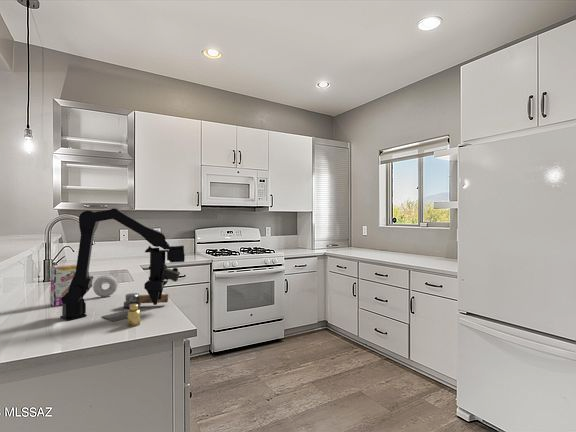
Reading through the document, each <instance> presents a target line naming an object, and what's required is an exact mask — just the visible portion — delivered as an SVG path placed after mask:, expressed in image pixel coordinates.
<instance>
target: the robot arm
mask: <svg viewBox="0 0 576 432" xmlns="http://www.w3.org/2000/svg"><path fill="white" fill-rule="evenodd" d="M108 220H109V221H110V220H114V221H116V222H117V223H120V224H121V225H123V226H124V227H127V228H129V229H130V230H131V231H133V232H135V233H136V234H138V235H141V236H142V238H143V239H145V241H147V242H148V243H149V244H150V245H149V246H148V247H147V248H146V249H145V250H144V252H145V253H149V266H148V270H149V276H148V280H147V281H146V282H144V286H143V287H144V290H145V291H146V292H147V295H149V296H150V298H151V300H152V302H153V303H152V304H153V305H154V306H157V304H158V303H157V302H158V300H159V299H161V296H162V294H163V292H164V291H163V290H164V287H165V285H166V284H167V283H168V282H169V280H171V281H172V282H177V281H178V280H179V278H180V275H181V272H180V271H179V269H178V267H173V268H172V269H171V268H168V266H167V264H166V260H167V261H169V263H171V264H172V263H184V262H185V259H186V257H185V246H184V245H170V244H169V243H168V242H167V241H166V236H165V234H164V233H163V232H161V231H159V230H156V229H154V228H152V227H148V226H146V225H144V224H143V223H141V222H139V221H138V220H136V219H135V218H133V217H131V216H129V215H127V214H125V212H123V211H121V210H120V209H119V208H114V207H113V208H110V209H107V210H99V211H95V210H83V212H81V213H80V214H79V216H78V224H79V225H78V226H79V232H80V238H79V246H78V253H77V260H76V264H77V266H76V272H75V274H74V277H73V279H72V281H71V284H70V287H69V290H68V291H69V292H68V293H67V294H65V295H64V296H63V297H62V298H61V300H62V305H61V307H62V308H61V313H62V315H60V316H59V318H61V319H63V320H65V321H71V320H76V319H80V318H85V317H87V311H86V310H87V307H86V306H87V304H86V303H87V302H85V298H84V296H85V295H86V294H87V293H88V292H89V291H90V289H92V288H93V279H94V275H92V276H91V275H90V271H89V270H90V263H91V257H92V249H93V241H94V235H95V233H96V231H97V228H98V227H99V223H100V222H102V221H108ZM151 245H152V246H153V247H151ZM160 248H162V249H160ZM82 297H83V299H82Z"/></svg>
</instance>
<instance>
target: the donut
mask: <svg viewBox="0 0 576 432" xmlns="http://www.w3.org/2000/svg"><path fill="white" fill-rule="evenodd" d="M105 283H108V285H109V287H108V288H107V289H104V288H103V287H102V285H103V284H105ZM92 289H93V292H94V294H95V295H97V296H98V297H101V298H106V297H109V296H111V295H113V294H115V292H116V291H117V289H118V281H117V279H116V277H114V276H112V275H109V274H104V275H101V276H99V277H98V278H96V280H95V281H94V282H93V284H92Z"/></svg>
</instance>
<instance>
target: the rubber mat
mask: <svg viewBox="0 0 576 432" xmlns="http://www.w3.org/2000/svg"><path fill="white" fill-rule="evenodd" d="M101 318H102V319H105V320H109V321H111V322H117V321H122V320H124V319H127V311H126V310H121V311H117V312H114V313H110V314H105V315H103V316H101Z"/></svg>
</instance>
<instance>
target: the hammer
mask: <svg viewBox="0 0 576 432" xmlns="http://www.w3.org/2000/svg"><path fill="white" fill-rule="evenodd" d="M168 302H169V293H162V296H161V299H159V300H158V302H157V304H159V303H168ZM131 304H138V307H140V306H141V305H142V304H153V302H152V300H151V298H150V296H149V294H139V293H137V292H133V293H132V292H131V293H127V294H125V301H123V308H126V309H128V308H129V305H131Z"/></svg>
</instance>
